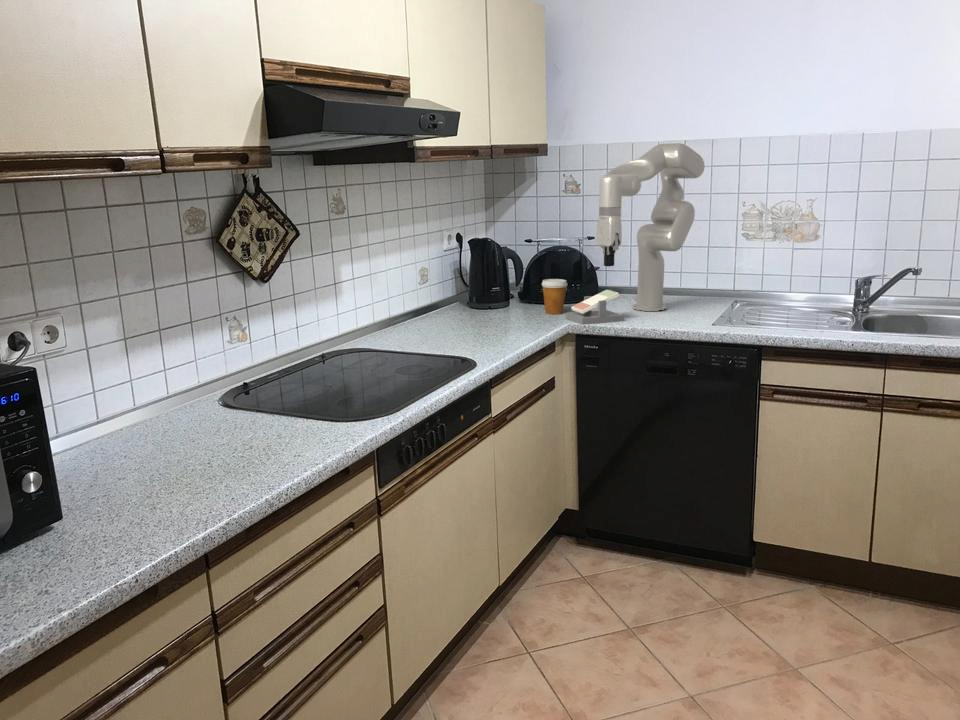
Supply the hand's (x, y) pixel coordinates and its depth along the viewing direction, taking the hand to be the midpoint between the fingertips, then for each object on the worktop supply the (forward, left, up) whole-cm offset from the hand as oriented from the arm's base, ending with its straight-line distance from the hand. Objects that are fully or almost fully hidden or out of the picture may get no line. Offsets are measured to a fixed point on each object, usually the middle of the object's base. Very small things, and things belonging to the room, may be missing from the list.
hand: (608, 265), depth 272 cm
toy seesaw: (0, -5, -19) cm, 19 cm away
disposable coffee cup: (-18, -12, -19) cm, 29 cm away
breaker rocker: (0, -5, -12) cm, 13 cm away
